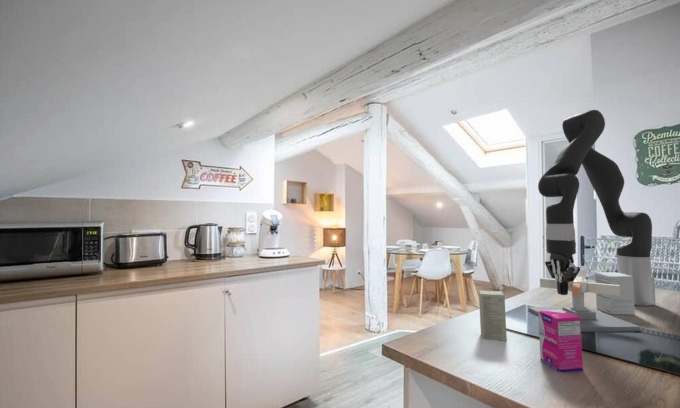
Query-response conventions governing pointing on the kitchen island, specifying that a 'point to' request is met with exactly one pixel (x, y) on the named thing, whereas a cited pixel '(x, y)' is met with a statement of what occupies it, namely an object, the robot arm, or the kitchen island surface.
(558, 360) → the supplement box
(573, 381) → the kitchen island surface
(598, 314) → the post board
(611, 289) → the star cap
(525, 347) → the kitchen island surface
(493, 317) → the skincare box
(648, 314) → the kitchen island surface
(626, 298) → the supplement box
